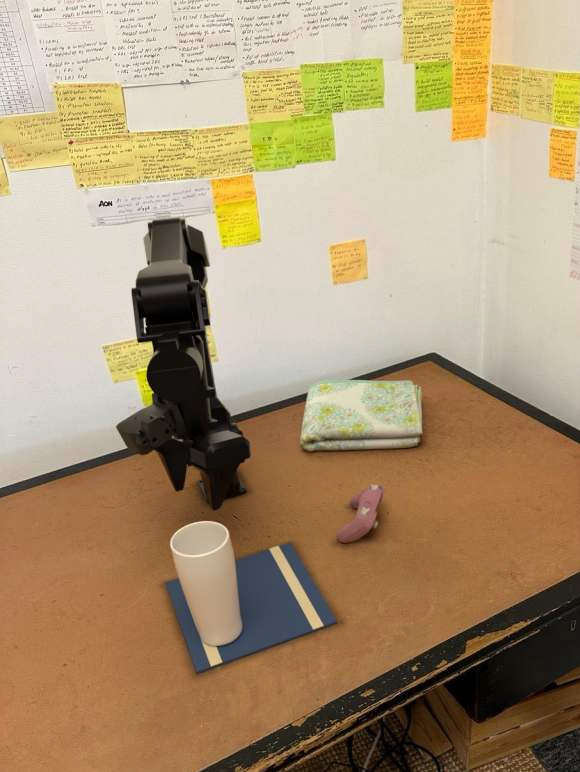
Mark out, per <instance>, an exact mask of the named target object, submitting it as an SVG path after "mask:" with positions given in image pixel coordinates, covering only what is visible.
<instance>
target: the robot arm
mask: <svg viewBox="0 0 580 772" xmlns="http://www.w3.org/2000/svg"><path fill="white" fill-rule="evenodd" d="M147 230H148V232H147V233H146V234H145V235H144V236H143V238H142V240H143V246H144V247H143V248H144V254H145V260H146V264H147V266H146V267H144V268H143V269H140V270H139V271H138V272H137V274H136V278H135V287H131V289H130V291H131V292H130V293H131V302H132V309H133V317H134V326H135V327H134V328H135V334H136V335H135V337H136V342H137V344H141V343H150V342H151V344H152V355H151V358H150V359H149V361H148V364H147V366H146V375H145V377H146V381H147V384H148V387H149V388H150V390H151V391H152V393H151V401H152V402H151V403H152V404H151V403H150V405H148V406H146V407H144V408H141V409H139V410H137V411H136V412H134V413H132V414H131V415H129V416H128V417H126V418H125V419H123V420H122V421H120V422H118V423H117V424H116V426H115V429H116V430H117V432H118V433H119V436H120V437H121V439H122V441H123V443H124V445H125V447H126V448H127V449H128V450H129V451H133V452H135V453H137V454H138V455H139V456H146V455H148V454H150V453H153V452H155V453H157V456H158V457H159V459H160V462H161V464H162V465H163V468H164V470H165V472H166V475H167V476H168V479H169V481H170V483H171V485H172V488H173V490H174V491H175V492H180V491H183V490H184V488H185V483H186V477H187V471H188V468H191V467H193V468H195V470H197V471H198V472H199V474H200V477H201V479H199V480H198V481H197V484H198V487H199V489H200V491H201V493H202V495H203V497H204V500H205V502H206V503H208V504H209V505H210V508H211V510H212V511H218V510H220V509H221V508H222V506H223V504H224V501H225V499H228V498H232V497H235V496H238V495H242V494H245V493H247V491H248V489H247V487H246V485H245V483H244V482H243V480H242V478H241V476H240V474H239V472H238V469H239V467H240V465H241V464H243V463H245V462H246V460H248V459H249V460H250V459H251V457H252V452H251V442H250V440H248V439H247V438H246V437H245V435H244V433H243V431H242V430H241V429H240V428H239V426H238V424H237V422H233V421H232V415H231V412H230V410H229V409H228V408H227V407H226V406H225V405H224V404H223V402H222V401H221V400H220V399H219V398H218V393H217V387H216V382H215V376H214V371H213V370H214V369H213V364H212V359H211V353H210V347H209V341H208V334H207V327H208V326H211V318H210V309H209V303H208V302H209V301H208V295H207V291H206V287H207V285H208V282H209V277H208V271H207V268H209V267H211V262H210V256H209V251H208V246H207V241H206V238H205V235H204V232H203V231H202V230H201V229H198V228H196V227H194V226H192V225H190V224H188V222H187V219H186V217H181V216H171V217H163V218H155V219H154V218H153V219H152V220H151V221H148V222H147Z"/></svg>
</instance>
